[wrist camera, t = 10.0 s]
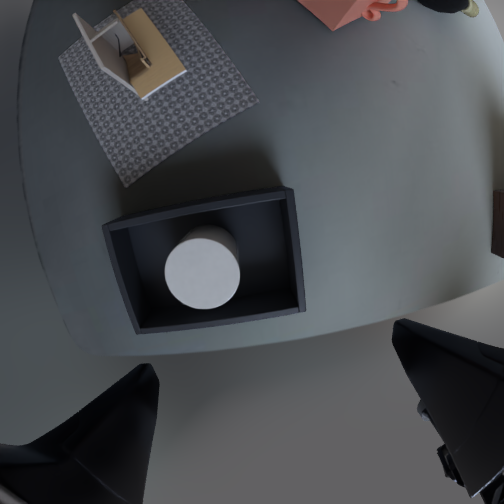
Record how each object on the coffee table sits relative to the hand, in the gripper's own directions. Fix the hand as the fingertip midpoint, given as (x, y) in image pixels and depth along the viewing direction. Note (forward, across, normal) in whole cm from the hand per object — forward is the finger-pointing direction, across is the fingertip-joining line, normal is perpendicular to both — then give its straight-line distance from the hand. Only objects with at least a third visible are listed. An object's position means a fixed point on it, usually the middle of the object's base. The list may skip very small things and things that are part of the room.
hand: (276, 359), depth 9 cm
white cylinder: (+11, +3, -1) cm, 12 cm away
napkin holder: (+12, +6, -16) cm, 21 cm away
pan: (+12, +3, -1) cm, 12 cm away
